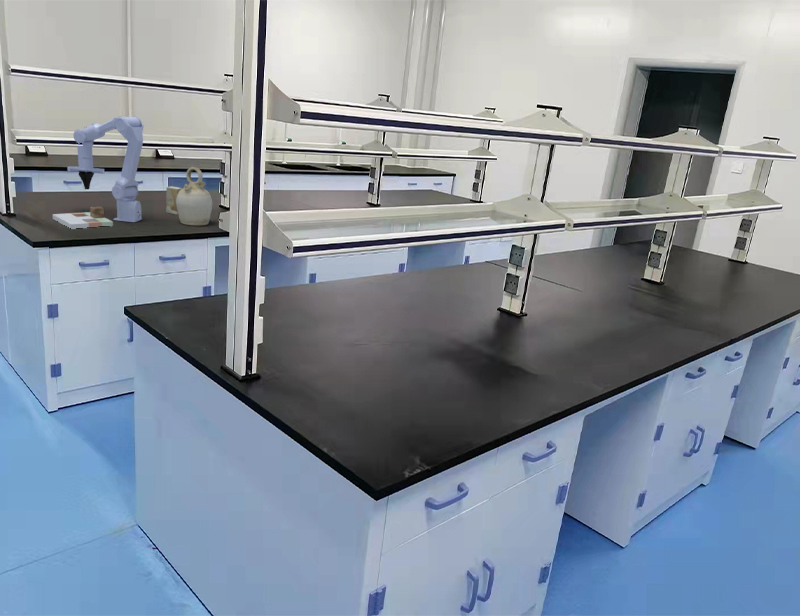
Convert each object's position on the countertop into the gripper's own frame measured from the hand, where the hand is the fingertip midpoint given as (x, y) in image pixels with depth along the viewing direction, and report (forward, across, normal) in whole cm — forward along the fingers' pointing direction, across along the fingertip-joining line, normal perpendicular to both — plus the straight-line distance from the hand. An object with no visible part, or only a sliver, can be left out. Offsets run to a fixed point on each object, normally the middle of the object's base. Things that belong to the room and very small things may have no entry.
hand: (87, 188), depth 279 cm
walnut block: (+8, +8, -18) cm, 21 cm away
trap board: (+10, +4, -21) cm, 23 cm away
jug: (+11, +46, -8) cm, 48 cm away
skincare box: (+11, +35, +10) cm, 38 cm away
